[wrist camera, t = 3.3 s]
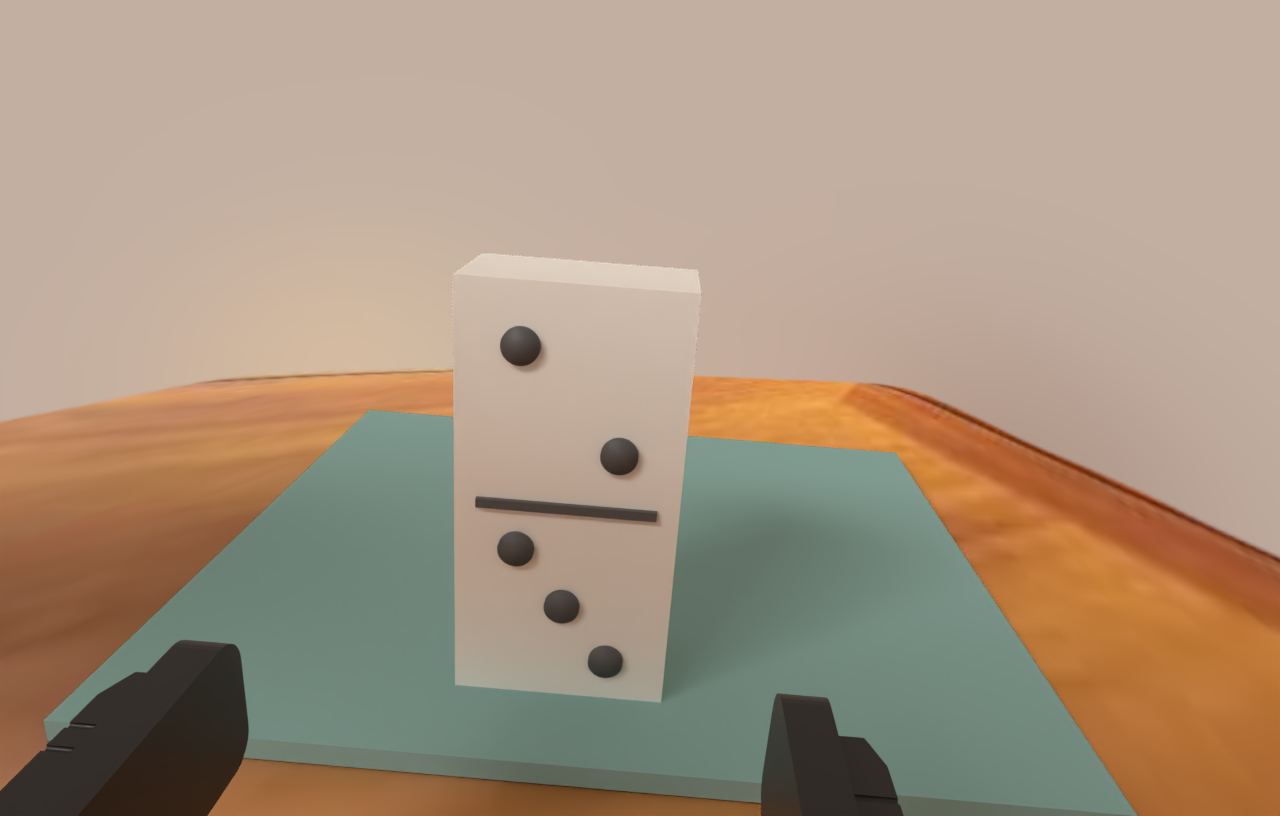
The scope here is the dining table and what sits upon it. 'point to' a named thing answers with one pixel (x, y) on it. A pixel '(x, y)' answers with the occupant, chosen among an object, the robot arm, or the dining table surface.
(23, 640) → the dining table surface
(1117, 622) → the dining table surface
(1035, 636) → the dining table surface
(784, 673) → the mat
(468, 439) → the domino
